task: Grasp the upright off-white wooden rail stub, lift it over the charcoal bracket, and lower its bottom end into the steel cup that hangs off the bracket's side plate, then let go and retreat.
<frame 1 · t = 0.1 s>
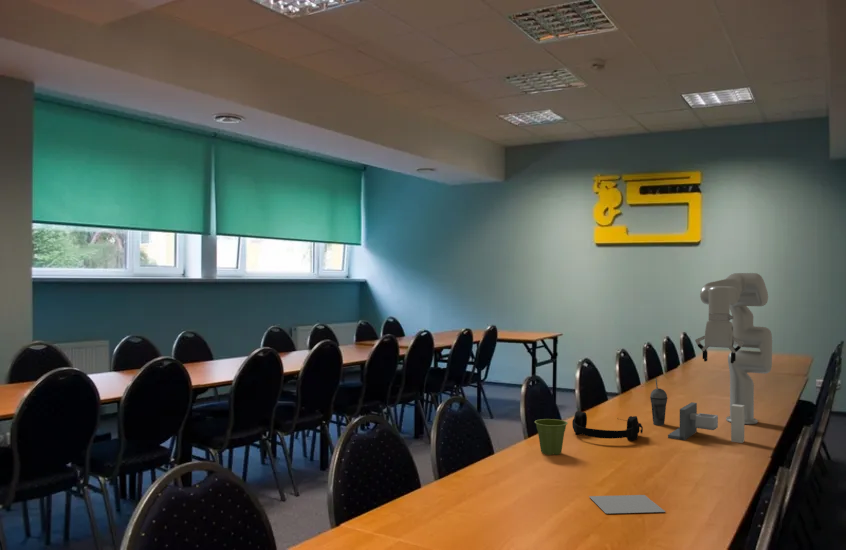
hand: (718, 362, 258), 31 cm above the table, fingers open, 9 cm apart
beverage cup: (658, 424, 288), on the table
bracket: (706, 438, 264), on the table
rail: (737, 441, 259), on the table
plant pot: (550, 453, 241), on the table
headset: (607, 436, 267), on the table
grey flat square slab: (633, 500, 190), on the table
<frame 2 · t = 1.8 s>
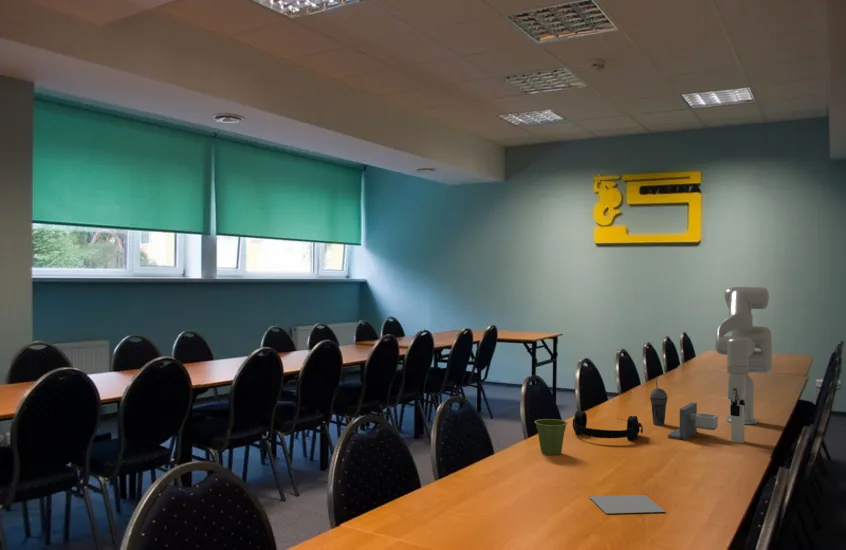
hand: (737, 414, 258), 11 cm above the table, fingers open, 9 cm apart
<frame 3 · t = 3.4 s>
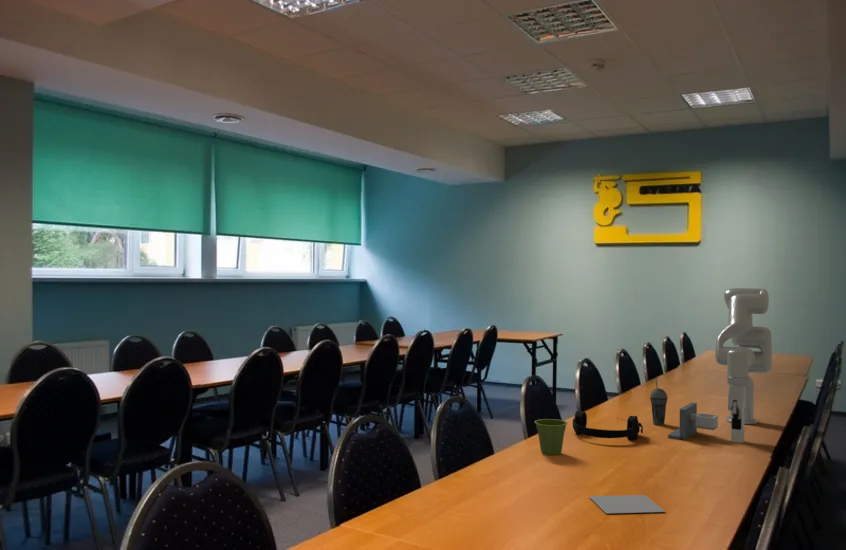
hand: (737, 427, 259), 5 cm above the table, fingers closed on rail, 4 cm apart
rail: (737, 441, 259), on the table, touching gripper
everything else where it was.
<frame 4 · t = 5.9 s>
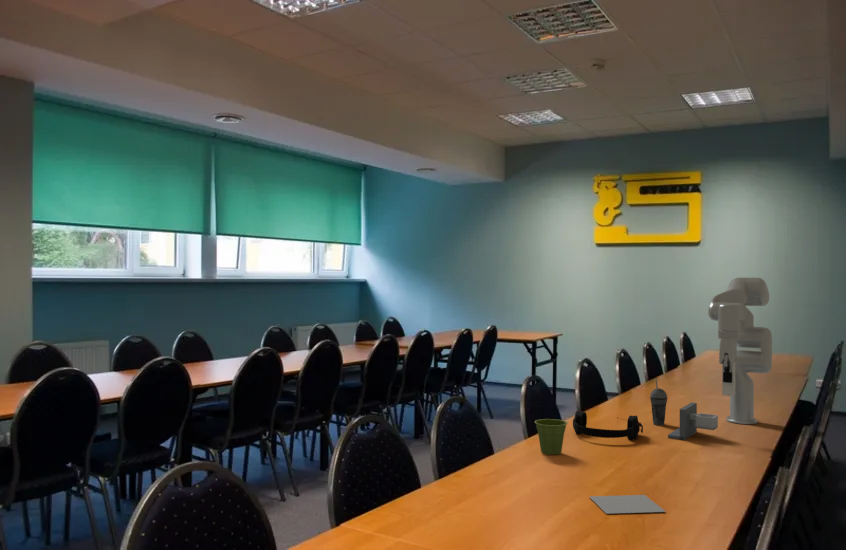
hand: (728, 381, 260), 23 cm above the table, fingers closed on rail, 4 cm apart
rail: (728, 394, 260), point 18 cm above the table, touching gripper
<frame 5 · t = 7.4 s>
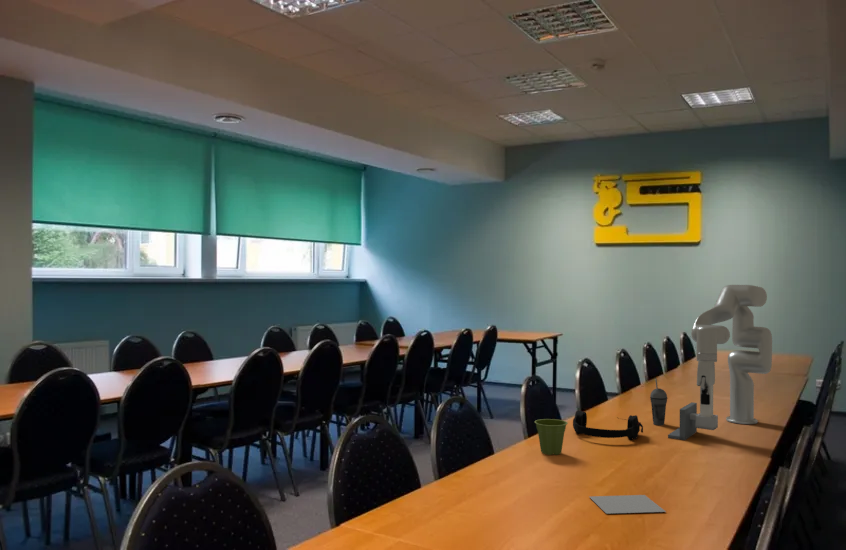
hand: (706, 403, 264), 14 cm above the table, fingers closed on rail, 4 cm apart
rail: (706, 416, 264), point 9 cm above the table, touching gripper
when the fingers open (12 cm above the table, at t = 8.5 s): rail drops 1 cm, resting on bracket.
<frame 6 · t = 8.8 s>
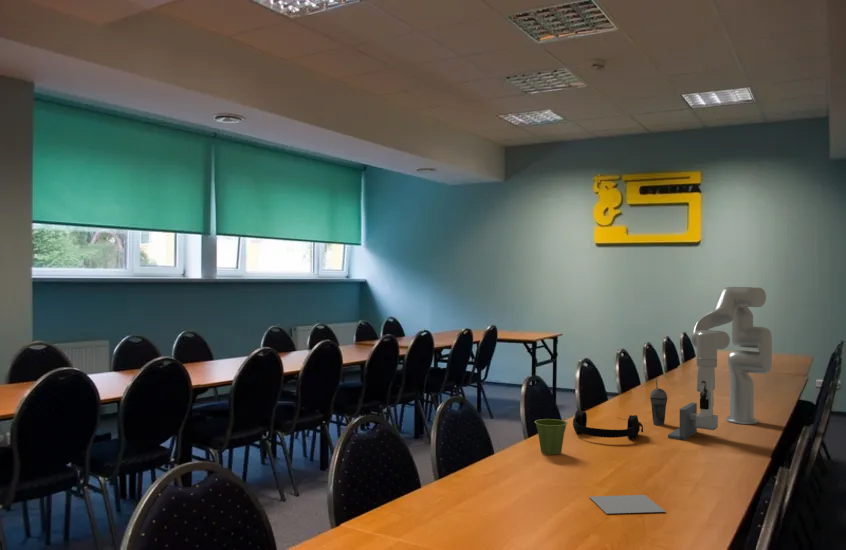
hand: (706, 407, 264), 12 cm above the table, fingers open, 7 cm apart
rail: (706, 425, 264), point 5 cm above the table, touching bracket
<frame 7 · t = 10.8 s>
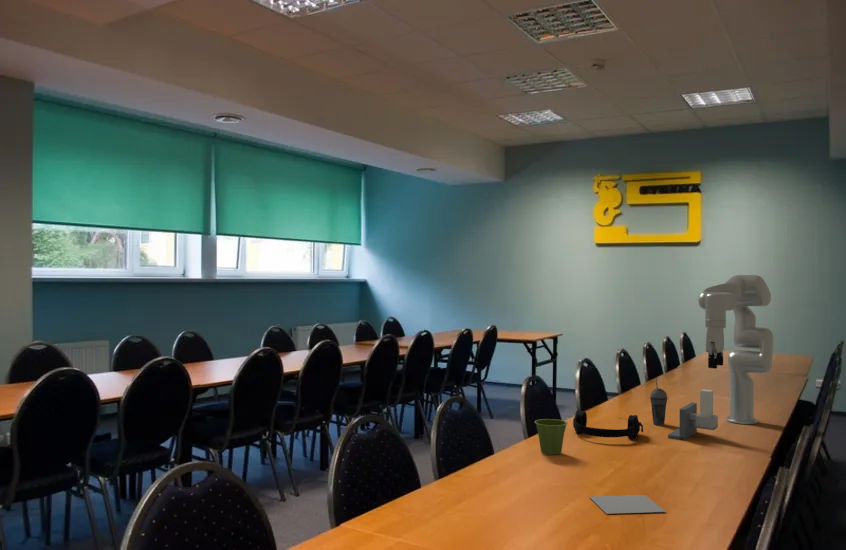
hand: (715, 366, 265), 28 cm above the table, fingers open, 9 cm apart
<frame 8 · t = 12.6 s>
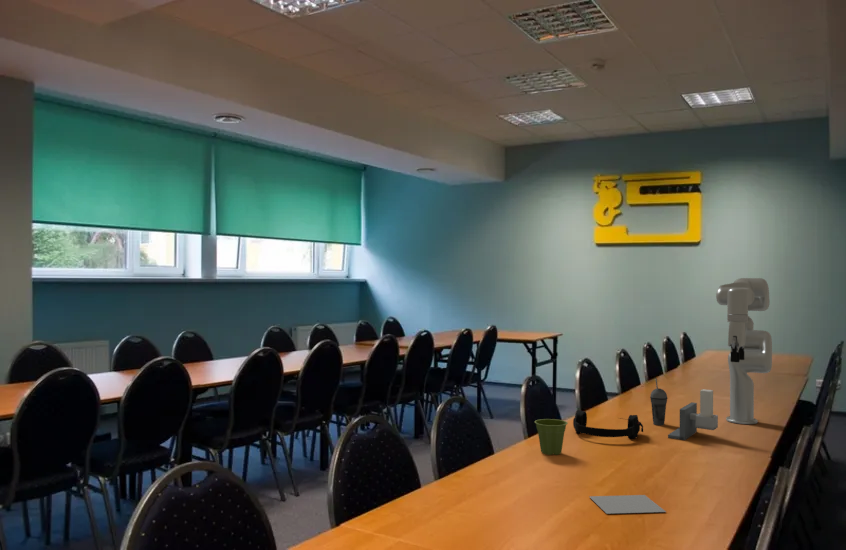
hand: (737, 360, 268), 30 cm above the table, fingers open, 9 cm apart
at the end: rail 0.0 cm off-centre on the bracket, point 5.0 cm above the bracket's base; rail tilted 0°; the gripper is holding nothing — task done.
